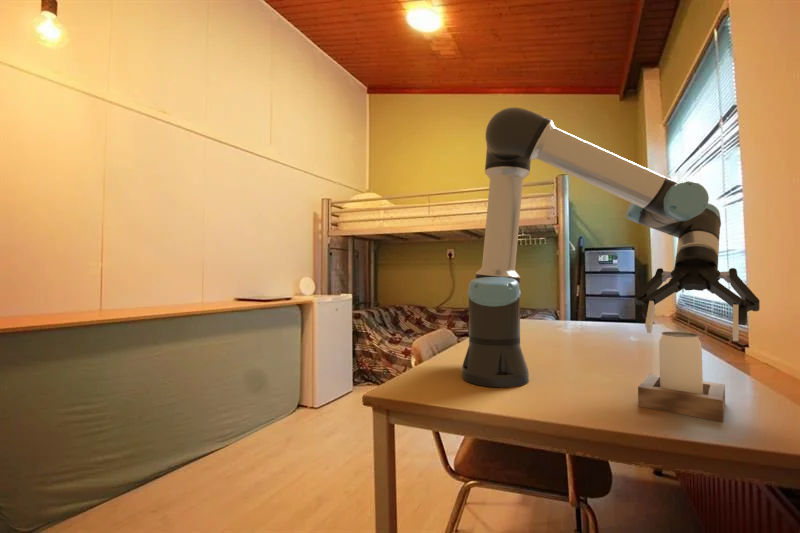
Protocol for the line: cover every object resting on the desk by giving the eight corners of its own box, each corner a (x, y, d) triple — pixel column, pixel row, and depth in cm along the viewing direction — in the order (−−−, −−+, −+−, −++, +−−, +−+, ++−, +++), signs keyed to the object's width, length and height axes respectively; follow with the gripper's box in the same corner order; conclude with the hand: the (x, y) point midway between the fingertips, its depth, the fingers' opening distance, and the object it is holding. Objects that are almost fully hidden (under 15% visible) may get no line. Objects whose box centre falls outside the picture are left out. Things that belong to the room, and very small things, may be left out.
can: (711, 405, 69) (709, 336, 69) (670, 403, 70) (669, 336, 70) (691, 393, 75) (689, 331, 75) (654, 392, 76) (652, 331, 76)
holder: (638, 405, 72) (638, 386, 72) (649, 390, 81) (649, 373, 81) (722, 422, 64) (722, 400, 64) (725, 403, 73) (724, 384, 73)
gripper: (773, 268, 80) (778, 353, 69) (635, 268, 97) (620, 337, 86) (774, 241, 76) (779, 326, 65) (630, 246, 93) (614, 315, 82)
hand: (689, 332), depth 76 cm, fingers open, 13 cm apart
